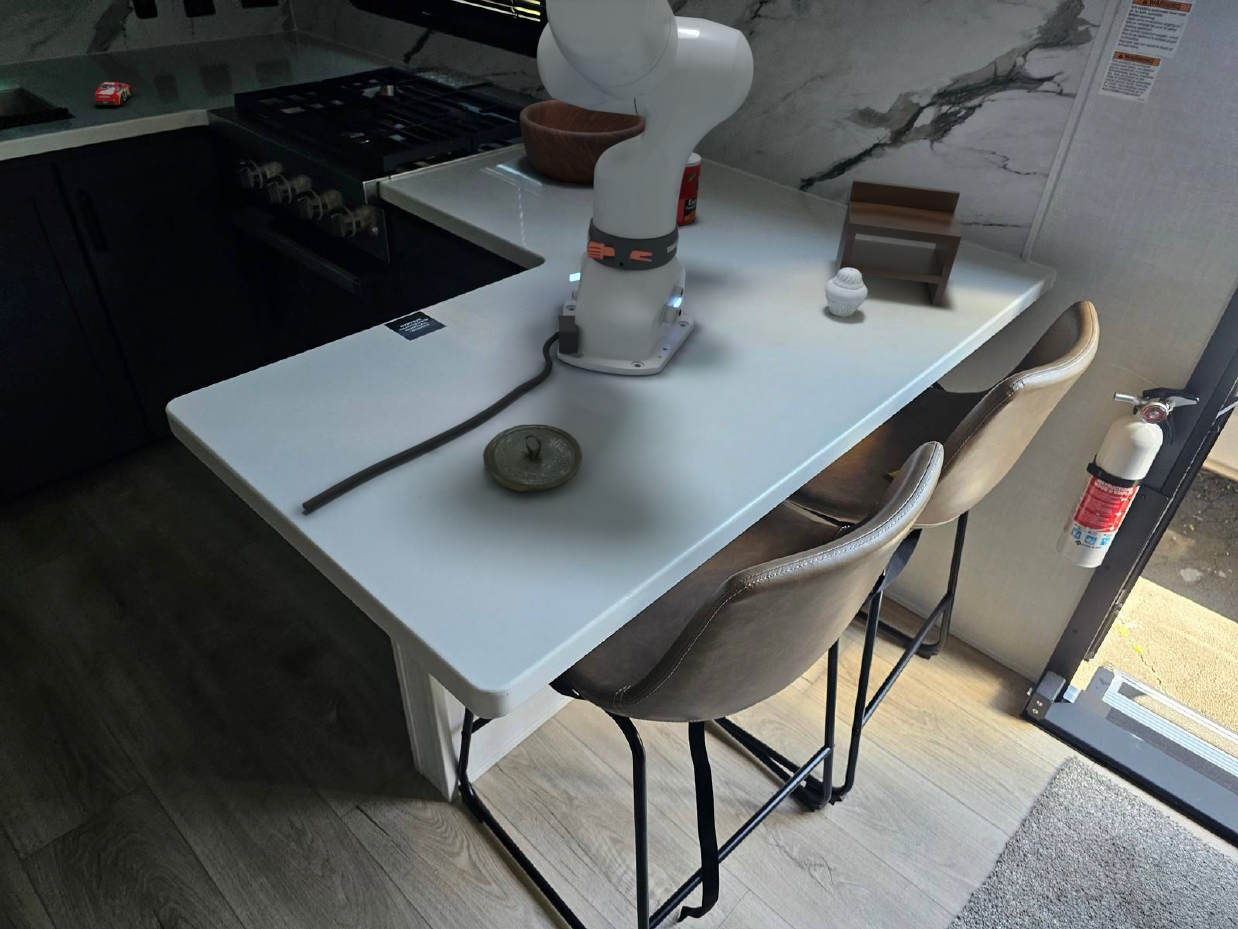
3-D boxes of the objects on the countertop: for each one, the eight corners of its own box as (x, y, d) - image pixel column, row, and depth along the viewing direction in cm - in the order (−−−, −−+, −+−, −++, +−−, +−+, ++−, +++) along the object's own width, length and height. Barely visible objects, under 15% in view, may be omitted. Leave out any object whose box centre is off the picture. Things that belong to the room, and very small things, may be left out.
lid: (561, 445, 98) (555, 405, 96) (600, 475, 90) (594, 432, 88) (475, 472, 94) (467, 431, 92) (507, 505, 86) (499, 461, 84)
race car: (111, 93, 198) (106, 74, 195) (136, 93, 199) (131, 75, 196) (93, 108, 187) (87, 89, 185) (119, 108, 188) (114, 89, 186)
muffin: (812, 310, 126) (821, 266, 122) (835, 298, 130) (844, 255, 126) (847, 325, 123) (858, 281, 119) (870, 313, 126) (881, 269, 122)
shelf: (940, 305, 130) (967, 216, 121) (834, 291, 132) (854, 202, 124) (934, 276, 138) (959, 191, 130) (835, 263, 141) (853, 178, 132)
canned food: (692, 228, 150) (698, 165, 143) (647, 222, 151) (652, 159, 144) (697, 212, 156) (704, 151, 149) (654, 207, 157) (659, 146, 150)
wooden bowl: (601, 198, 159) (603, 142, 153) (495, 169, 169) (493, 115, 163) (665, 165, 176) (670, 113, 170) (566, 141, 186) (567, 91, 180)
